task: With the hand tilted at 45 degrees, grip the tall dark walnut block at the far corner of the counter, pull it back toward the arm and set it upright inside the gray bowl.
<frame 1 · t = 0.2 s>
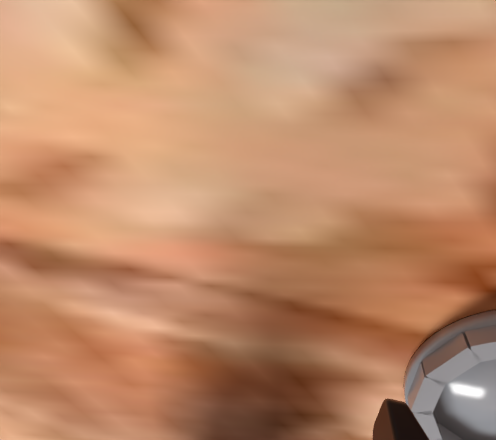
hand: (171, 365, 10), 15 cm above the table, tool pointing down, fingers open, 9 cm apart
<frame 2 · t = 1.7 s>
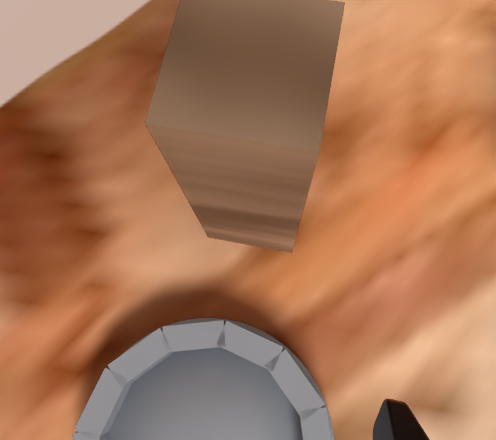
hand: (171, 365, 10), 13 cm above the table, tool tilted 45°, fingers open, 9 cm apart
walnut block: (257, 204, 25), on the table
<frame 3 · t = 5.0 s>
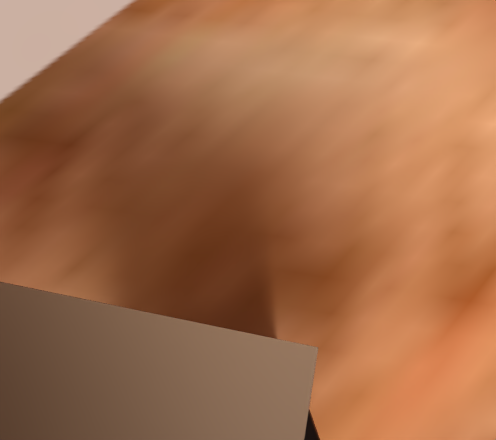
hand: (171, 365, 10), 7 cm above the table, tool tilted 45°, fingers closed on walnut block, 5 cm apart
walnut block: (201, 397, 16), on the table, touching gripper
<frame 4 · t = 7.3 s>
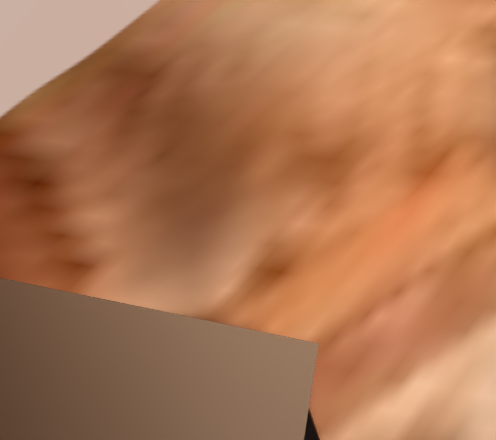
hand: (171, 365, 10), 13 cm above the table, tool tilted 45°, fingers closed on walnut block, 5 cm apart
walnut block: (201, 396, 15), point 6 cm above the table, touching gripper
when the fingers open (8 cm above the table, at t = 9.9 s): walnut block stays where it is, resting on gray bowl.
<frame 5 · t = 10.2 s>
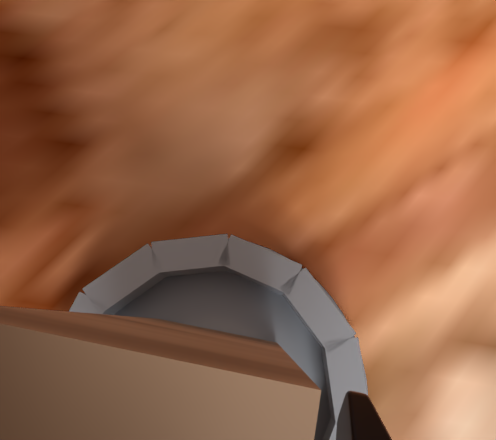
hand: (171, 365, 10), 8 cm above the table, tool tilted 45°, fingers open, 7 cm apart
walnut block: (204, 393, 16), point 1 cm above the table, touching gray bowl
gray bowl: (207, 391, 17), on the table
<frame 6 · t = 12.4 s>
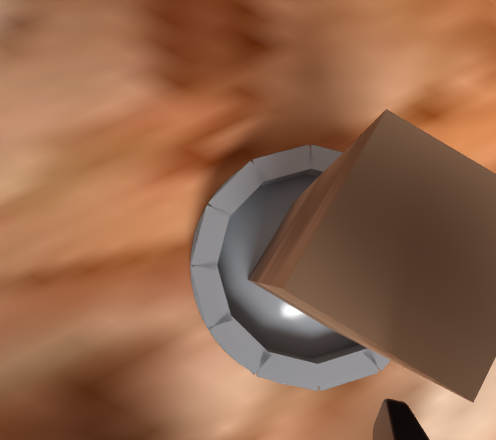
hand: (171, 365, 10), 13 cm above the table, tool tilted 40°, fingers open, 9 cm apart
walnut block: (309, 263, 22), point 1 cm above the table, touching gray bowl
gray bowl: (306, 264, 23), on the table
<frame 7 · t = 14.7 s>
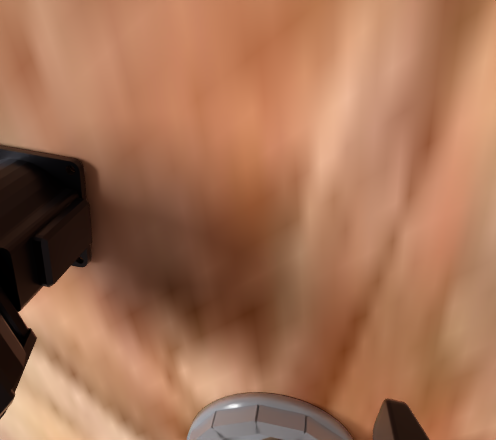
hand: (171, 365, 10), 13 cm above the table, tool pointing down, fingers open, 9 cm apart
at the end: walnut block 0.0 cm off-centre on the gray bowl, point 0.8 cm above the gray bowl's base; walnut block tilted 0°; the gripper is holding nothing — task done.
